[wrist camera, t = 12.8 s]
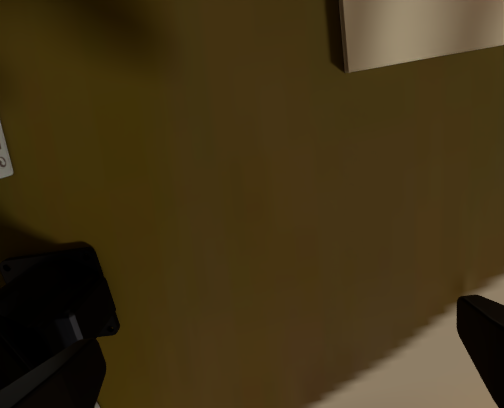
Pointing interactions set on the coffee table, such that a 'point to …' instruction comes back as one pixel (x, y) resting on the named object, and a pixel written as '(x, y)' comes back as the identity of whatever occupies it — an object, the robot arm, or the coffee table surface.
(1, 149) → the skincare box
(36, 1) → the coffee table surface
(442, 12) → the collar base
